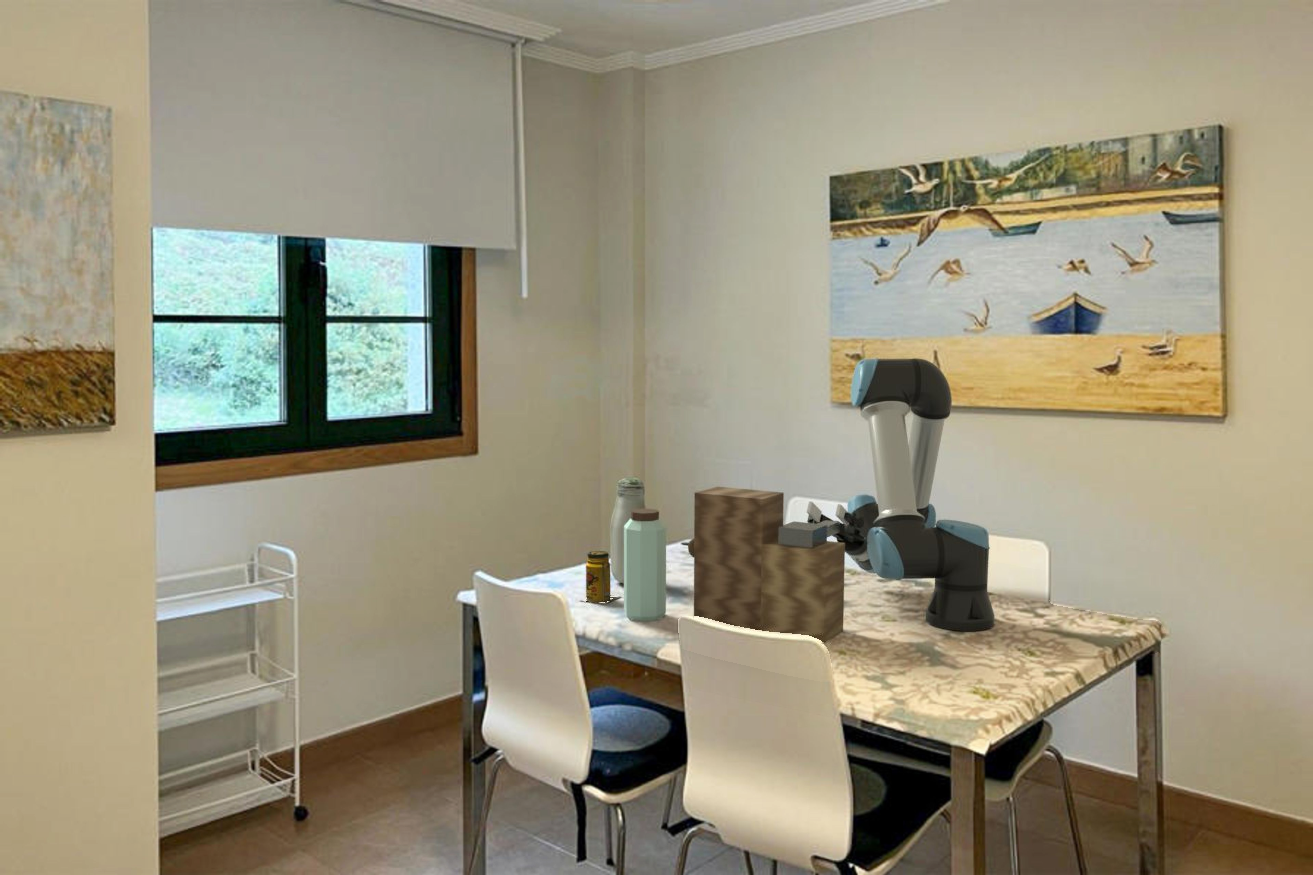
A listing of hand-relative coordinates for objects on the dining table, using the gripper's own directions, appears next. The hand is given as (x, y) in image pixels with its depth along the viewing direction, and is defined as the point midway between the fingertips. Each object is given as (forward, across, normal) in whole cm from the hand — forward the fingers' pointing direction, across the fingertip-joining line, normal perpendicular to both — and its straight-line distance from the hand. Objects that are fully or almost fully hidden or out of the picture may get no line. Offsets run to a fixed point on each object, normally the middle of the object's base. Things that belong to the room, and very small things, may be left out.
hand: (823, 508), depth 253 cm
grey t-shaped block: (+4, -1, -9) cm, 10 cm away
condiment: (0, +53, -30) cm, 61 cm away
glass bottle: (-16, +56, -21) cm, 62 cm away
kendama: (-53, +55, 0) cm, 77 cm away
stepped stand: (0, +7, -29) cm, 30 cm away
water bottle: (+7, +35, -33) cm, 49 cm away
